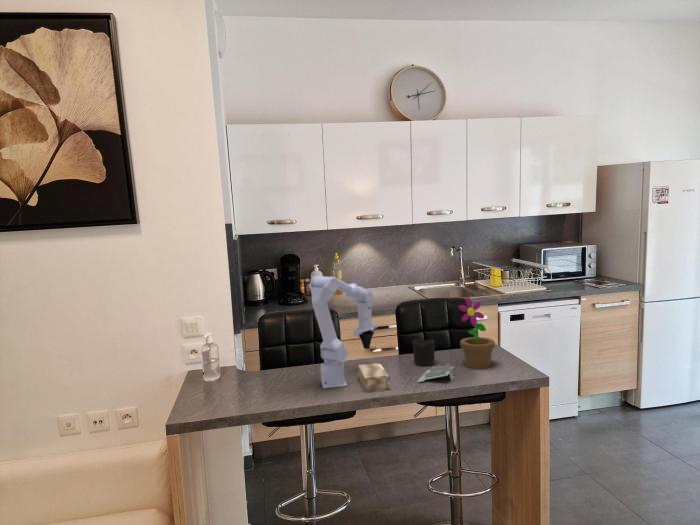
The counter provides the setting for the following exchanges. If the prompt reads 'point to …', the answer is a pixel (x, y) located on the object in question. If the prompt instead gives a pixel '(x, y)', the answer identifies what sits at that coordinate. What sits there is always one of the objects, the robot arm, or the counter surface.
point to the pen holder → (423, 352)
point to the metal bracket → (437, 373)
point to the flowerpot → (476, 339)
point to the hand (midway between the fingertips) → (366, 348)
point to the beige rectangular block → (373, 377)
